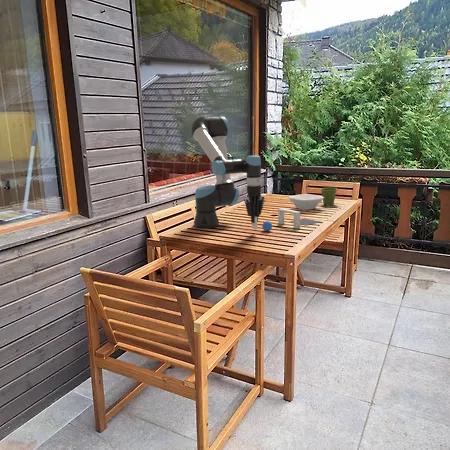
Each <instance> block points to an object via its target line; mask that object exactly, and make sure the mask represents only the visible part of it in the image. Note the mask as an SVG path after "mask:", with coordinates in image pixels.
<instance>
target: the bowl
mask: <svg viewBox="0 0 450 450" xmlns="http://www.w3.org/2000/svg"><path fill="white" fill-rule="evenodd" d="M323 198H324V197H322V195H317V194H310V193H302V194H295V195H289V196H288V200H290V202H291V203H293V204H294V207H295V208H297V209H298V210H304V211H308V210H313V209H316V208H317V206H318V205H319V204H320V203H322V201H323Z"/></svg>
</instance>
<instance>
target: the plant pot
mask: <svg viewBox="0 0 450 450" xmlns="http://www.w3.org/2000/svg"><path fill="white" fill-rule="evenodd" d="M320 191H321V196H322V197H324V198H323V200H322V201H323V205H325V204H327V205H326V206H333V205H335V201H336V200H335V199H336V194H337V191H338V188H337V187H322V188H320ZM332 204H333V205H332Z"/></svg>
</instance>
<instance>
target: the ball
mask: <svg viewBox="0 0 450 450" xmlns="http://www.w3.org/2000/svg"><path fill="white" fill-rule="evenodd" d="M262 229H263V230H264V231H266V232H269V231H271V230H272V229H273V224H272V222H271V221H269V220H268V221H267V220H266V221H263V223H262Z"/></svg>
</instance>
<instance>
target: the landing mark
mask: <svg viewBox="0 0 450 450" xmlns="http://www.w3.org/2000/svg"><path fill="white" fill-rule="evenodd" d="M289 223H293V224H294V220H291V221H289ZM318 223H321V221H319V220H315V219H309V218H306V217H304V218H300V226H302V225H303V226H311V225H314V224H318Z"/></svg>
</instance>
